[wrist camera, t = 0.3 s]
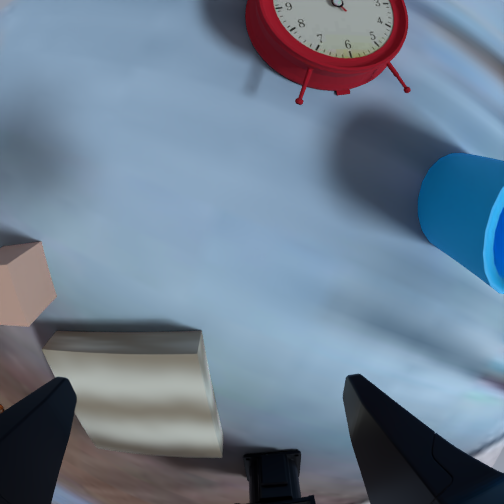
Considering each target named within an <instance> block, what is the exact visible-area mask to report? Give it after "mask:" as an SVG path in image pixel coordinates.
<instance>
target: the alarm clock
mask: <svg viewBox="0 0 504 504" xmlns="http://www.w3.org/2000/svg"><path fill="white" fill-rule="evenodd" d="M245 19H246V27H247V32H248V35H249V38H250V40H251V42H252V44H253V46H254V48H255V49H256V51H257V52H258V54H259V55H260V56H261V57H262V59H263V60H264V61H265V62H266V63H267V64H268V65H269V66H270V67H272V68H273V69H274V70H275V71H276V72H278V73H279V74H281V75H282V76H284V77H286V78H287V79H289V80H291V81H293V82H296V83H298V84H300V85H302V88H301V92H300V95H299V98H297V99H296V100H295V102H296V104H299V105H302V104H303V100H302V98H303V95H304V92H305V89H306V87H310V88H314V89H319V90H328V91H336V92H337V95H344V94H350V90H349V89H351V88H355V87H358V86H361V85H363V84H366V83H368V82H369V81H371V80H373V79H374V78H376V77H377V76H378V75H379V74H380V73H381V72H382V71H383V70H384V69H385V68H386V67H387V66H388V68H389V69H390V70H391V72H392V73H393V74H394V76H395V77H397V79H398V80H399V82H400V83H401V84H402V86H403V87H404V91H405V93H408V92H410V91H411V90H410V88H409V87H407V86H406V85H405V83H404V82H403V80H402V79H401V77H400V76H399V74H398V72H397V71H396V70H395V68H394V67H393V66H392V64H391V63H390V61H391V60H392V59H393V58H394V57H395V56H396V55H397V53H398V52H399V51H400V49H401V47H402V45H403V43H404V41H405V38H406V35H407V30H408V15H407V10H406V6H405V3H404V0H248V1H247V5H246V13H245Z"/></svg>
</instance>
